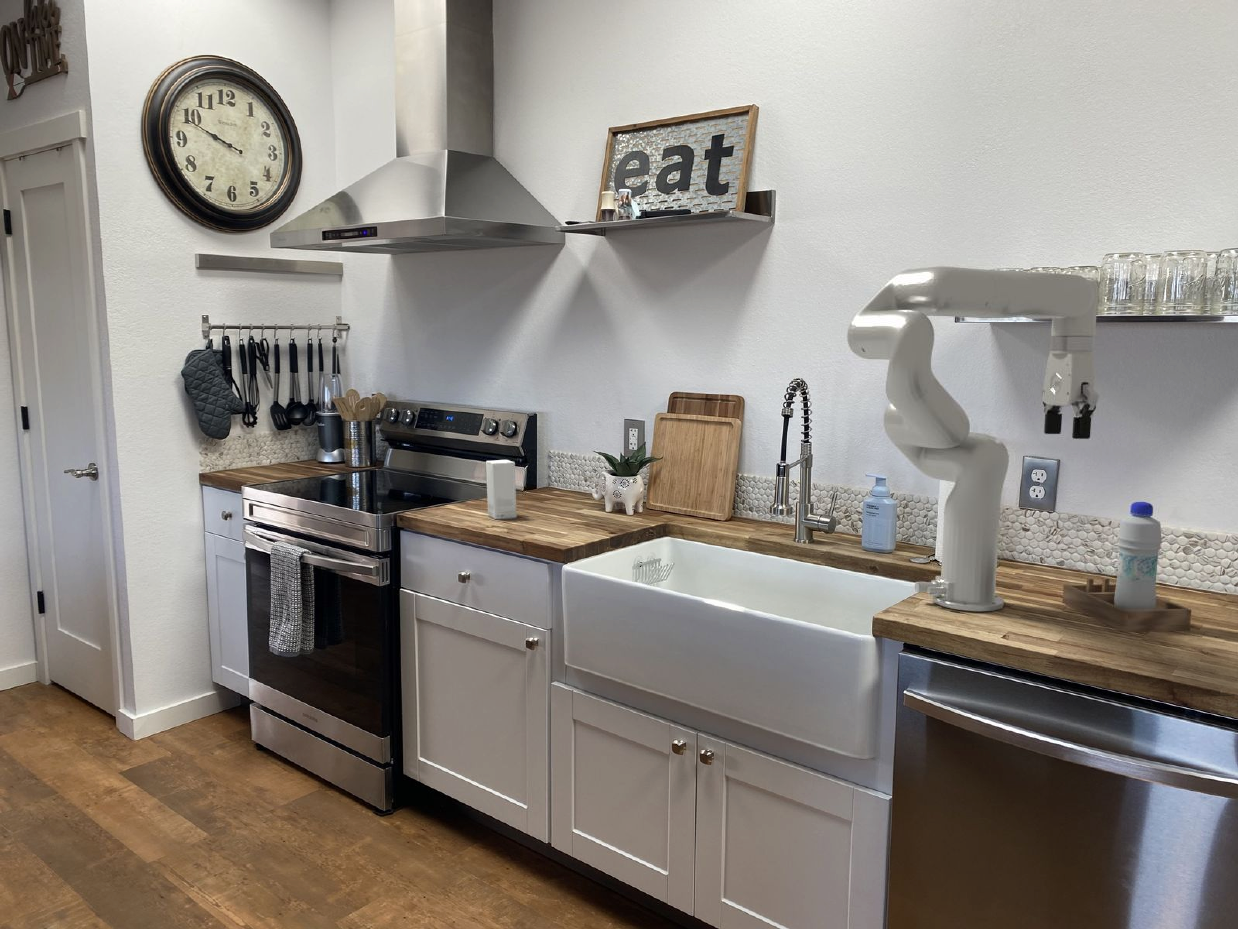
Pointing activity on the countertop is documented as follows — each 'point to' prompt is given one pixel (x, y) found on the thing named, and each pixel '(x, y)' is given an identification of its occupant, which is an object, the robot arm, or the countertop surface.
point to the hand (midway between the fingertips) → (1066, 436)
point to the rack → (1101, 607)
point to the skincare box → (501, 489)
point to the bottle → (1138, 559)
